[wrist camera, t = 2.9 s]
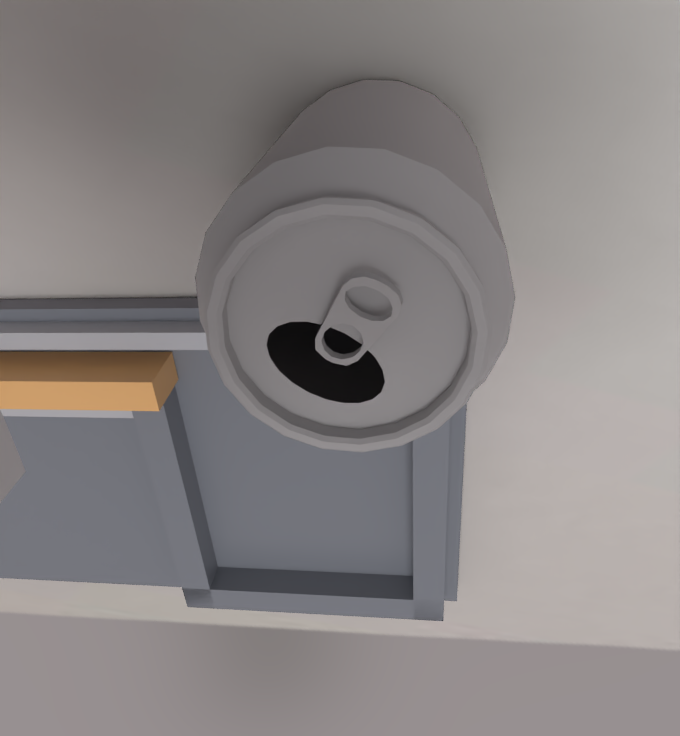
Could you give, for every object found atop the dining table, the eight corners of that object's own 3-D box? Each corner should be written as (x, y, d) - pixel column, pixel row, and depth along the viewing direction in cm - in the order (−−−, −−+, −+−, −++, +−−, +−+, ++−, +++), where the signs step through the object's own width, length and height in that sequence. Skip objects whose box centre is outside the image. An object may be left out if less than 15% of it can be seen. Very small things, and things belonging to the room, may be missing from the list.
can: (247, 220, 25) (127, 391, 15) (336, 30, 21) (254, 86, 11) (411, 309, 26) (403, 523, 16) (523, 145, 22) (605, 290, 12)
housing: (469, 295, 26) (473, 324, 23) (455, 585, 35) (457, 625, 32) (-204, 301, 29) (-252, 326, 27) (-58, 561, 38) (-86, 595, 36)
